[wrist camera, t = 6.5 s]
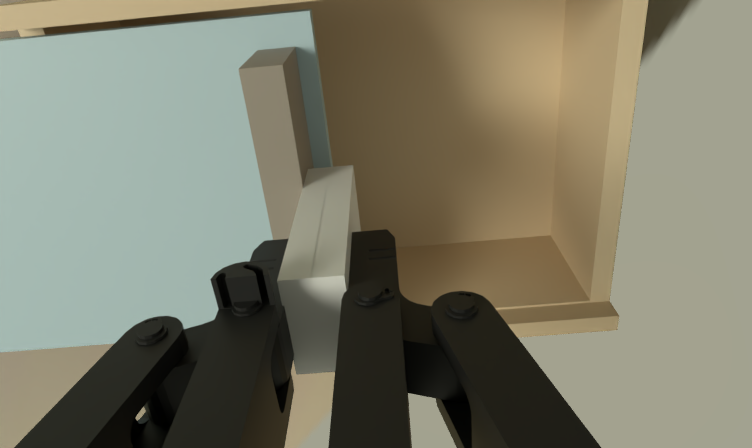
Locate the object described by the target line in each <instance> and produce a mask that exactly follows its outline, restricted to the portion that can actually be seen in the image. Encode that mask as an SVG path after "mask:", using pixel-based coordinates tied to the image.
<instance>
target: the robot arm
mask: <svg viewBox="0 0 752 448" xmlns="http://www.w3.org/2000/svg"><path fill="white" fill-rule="evenodd" d="M210 280H211V284H212V287H213V291H214V294H215V298H216V302H217V305H218V309H219V310H218V312H217V315H216V317H215V319H214V320H212V321H210V322H207V323H204V324H201V325H198V326H194V327H190V328H187V329H184V327H183V324H182V322H181V321H180V320H179V319H178V318H175V317H171V316H157V317H152V318H149V319H146V320H144V321H142V322H140V323H138V324H136V325H134V326H133V327H132V328H130V329H129V330H128V331H127V332H125V334H124V335H123V336H122V337H121V338H120V339H119V340H118V341H117V342H116V343H115V344H114V345H113V346H112V347H111V348H110V349H109V350H108V351H107V352H106V353H105V354H104V355H103V356H102V357H101V358H100V359H99V360H98V361H97V363H96V364H95V365H94V366H93V367H92V368H91V369H90V370H89V371H88V372H87V373H86V374H85V375H84V376H83V377H82V378H81V379H80V380H79V381H78V382H77V383H76V384H75V385H74V386H73V387H72V388H71V389H70V390H69V392H68V393H67V394H66V395H65V396H64V397H63V398H62V399H61V400H60V401H59V402H58V403H57V404H56V405H55V406H54V407H53V408H52V409H51V410H50V411H49V412H48V413H47V414H46V415H45V416H44V417H43V418H42V419H41V421H40V422H39V423H38V424H37V425H36V426H35V427H34V428H33V429H32V430H31V431H30V432H29V433H28V434H27V435H26V436H25V437H24V438H23V439H22V440H21V441H20V442H19V443H18V444H17V445H16V446H15V447H14V448H284V446H285V440H286V434H287V428H288V422H289V416H290V410H291V404H292V398H293V392H294V387H293V380H292V376H291V368H292V363H293V360H294V365H295V369H296V374H309V373H322V372H335V380H334V392H333V403H332V415H331V426H330V438H329V448H412V444H411V432H410V418H409V402H408V393H412V394H417V395H422V396H427V397H432V398H436V402H437V406H438V408H439V411H440V413H441V415H442V417H443V419H444V421H445V423H446V425H447V428H448V430H449V432H450V434H451V436H452V438H453V440H454V442H455V445H456V447H457V448H601V447H600V446H599V444H598V443H597V442H596V440H595V439H594V438H593V436H592V435H591V434H590V432H589V431H588V430H587V428H586V427H585V426H584V425H583V423H582V422H581V420H580V419H579V418H578V417H577V416H576V414H575V413H574V411H573V410H572V409H571V407H570V406H569V405H568V403H567V402H566V401H565V400H564V398H563V397H562V396H561V394H560V393H559V392H558V390H557V389H556V388H555V386H554V385H553V384H552V382H551V381H550V380H549V379H548V377H547V376H546V374H545V373H544V372H543V371H542V369H541V368H540V367H539V365H538V364H537V363H536V362H535V360H534V359H533V357H532V356H531V355H530V353H529V352H528V351H527V350H526V348H525V347H524V346H523V344H522V343H521V342H520V340H519V339H518V338H517V336H516V335H515V334H514V332H513V331H512V330H511V329H510V327H509V326H508V325H507V323H506V322H505V321H504V319H503V318H502V317H501V315H500V314H499V313H498V311H497V310H496V309H495V308H494V306H493V305H492V304H491V302H490V301H489V300H487V299H486V298H485V297H484V296H482V295H479V294H477V293H474V292H468V291H455V292H449V293H446V294H444V295H441V296H440V297H438V298H437V299H436V300H435V301H434V302H433V304H432V306H427V305H422V304H417V303H414V302H412V301H410V300H408V299H407V298H405V297H404V296H403V295H402V294H401V292H400V289H399V278H398V267H397V255H396V243H395V237H394V236H393V235H392V234H391V233H390V232H389V231H388V230H387V229H383V230H371V231H361V227H360V219H359V210H358V202H357V193H356V185H355V176H354V168H353V165H348V166H336V167H325V168H313V169H308V171H307V174H306V178H305V182H304V185H303V188H302V192H301V196H300V199H299V203H298V206H297V210H296V214H295V217H294V221H293V225H292V228H291V232H290V236H289V239H279V240H267V241H263V242H262V243H261V244H260V245H259V246H258V247H257V248H256V249H255V250H254V251H253V253H252V256H251V259H250V262H249V261H245V262H240V263H234V264H232V265H229V266H226V267H224V268H222V269H221V270H219V271H218V272H216V273H215V274H214V275H213V277H212V278H211V279H210ZM143 406H144V408H145V410H146V412H145V413H144V415H143V416H142V417H141V418H140V419H139V420H138V421H137V420H136V419H135V417H136V416H137V414H138V413H139V411H140V410H141V409H142V408H143Z"/></svg>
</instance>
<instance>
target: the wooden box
mask: <svg viewBox="0 0 752 448" xmlns="http://www.w3.org/2000/svg"><path fill="white" fill-rule="evenodd" d="M647 8H648V0H26V1H20V2H15V3H9V4H4V5H0V32H2V31H12V30H18V31H19V34H20V36H21V37H26V36H37V35H47V34H57V33H67V32H77V31H88V30H98V29H108V28H118V27H128V26H139V25H149V24H159V23H169V22H179V21H190V20H200V19H210V18H220V17H230V16H241V15H251V14H261V13H271V12H281V11H292V10H302V9H312V16H313V23H314V31H315V38H316V45H317V53H318V60H319V68H320V75H321V82H322V90H323V97H324V104H325V112H326V119H327V127H328V134H329V141H330V149H331V156H332V163H333V167H336V166H348V165H353V168H354V176H355V185H356V193H357V202H358V210H359V219H360V227H361V231H371V230H383V229H387V230H388V231H389V232H390V233H391V234H392V235H393V236H394V237H395V243H396V255H397V267H398V278H399V289H400V292H401V294H402V295H403V296H404V297H405V298H407V299H408V300H410V301H412V302H414V303H417V304H422V305H427V306H432V304H433V302H434V301H435V300H436V299H437V298H438V297H440V296H441V295H444V294H446V293H449V292H455V291H468V292H474V293H477V294H479V295H482V296H484V297H485V298H486V299H487V300H489V301H490V302H491V304H492V305H493V306H494V308H495V309H496V310H497V311H498V313H499V314H500V315H501V317H502V318H503V319H504V321H505V322H506V323H507V325H508V326H509V327H510V329H511V330H512V331H513V332H514V334H515V335H516V336H517V338H518V337H531V336H543V335H557V334H570V333H583V332H596V331H610V330H617V327H618V319H619V315H618V313H617V312H616V310H615V309H614V307H613V306H612V304H611V303H610V301H609V300H610V292H611V284H612V277H613V270H614V262H615V254H616V246H617V238H618V231H619V223H620V215H621V208H622V200H623V193H624V185H625V177H626V169H627V161H628V153H629V146H630V138H631V130H632V123H633V115H634V108H635V100H636V92H637V85H638V77H639V69H640V62H641V54H642V46H643V38H644V31H645V23H646V15H647Z"/></svg>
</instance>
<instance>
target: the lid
mask: <svg viewBox="0 0 752 448" xmlns="http://www.w3.org/2000/svg"><path fill="white" fill-rule="evenodd" d="M325 167H333V163H332V156H331V149H330V141H329V134H328V127H327V119H326V112H325V104H324V97H323V90H322V82H321V75H320V68H319V60H318V53H317V45H316V38H315V31H314V23H313V16H312V9H302V10H292V11H281V12H271V13H261V14H251V15H241V16H230V17H220V18H210V19H200V20H190V21H179V22H169V23H159V24H149V25H139V26H128V27H118V28H108V29H98V30H88V31H77V32H67V33H57V34H47V35H37V36H26V37H16V38H6V39H0V352H11V351H23V350H36V349H49V348H62V347H75V346H88V345H101V344H114V343H116V342H117V341H118V340H119V339H120V338H121V337H122V336H123V335H124V334H125V332H127V331H128V330H129V329H130V328H132V327H133V326H134V325H136V324H138V323H140V322H142V321H144V320H146V319H149V318H152V317H157V316H171V317H175V318H178V319H179V320H180V321H181V322H182V324H183V327H184V329H187V328H190V327H194V326H198V325H201V324H204V323H207V322H210V321H212V320H214V319H215V317H216V315H217V312H218V310H219V309H218V305H217V302H216V298H215V294H214V291H213V287H212V284H211V280H210V279H211V278H212V277H213V275H214V274H215V273H216V272H218V271H219V270H221V269H222V268H224V267H226V266H229V265H232V264H234V263H240V262H245V261H249V262H250V259H251V256H252V253H253V251H254V250H255V249H256V248H257V247H258V246H259V245H260V244H261V243H262V242H263V241H267V240H279V239H289V236H290V232H291V228H292V225H293V221H294V217H295V214H296V210H297V206H298V203H299V199H300V196H301V192H302V188H303V185H304V182H305V178H306V174H307V171H308V169H313V168H325Z"/></svg>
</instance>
